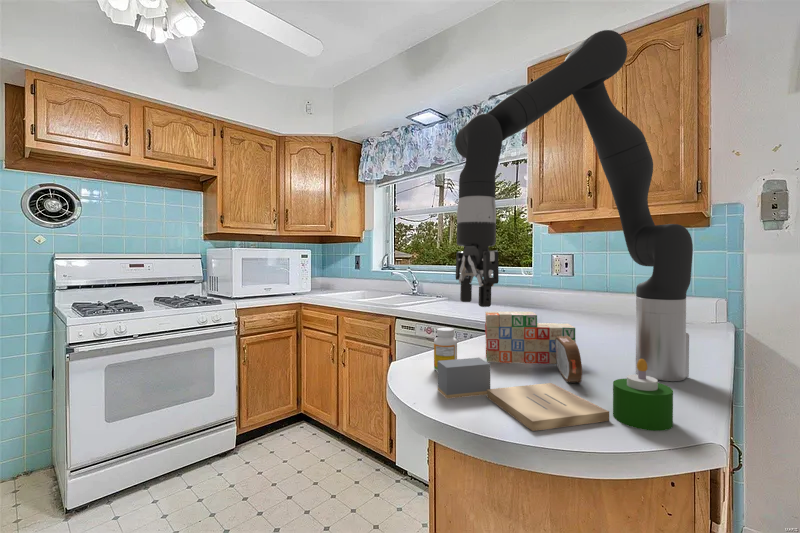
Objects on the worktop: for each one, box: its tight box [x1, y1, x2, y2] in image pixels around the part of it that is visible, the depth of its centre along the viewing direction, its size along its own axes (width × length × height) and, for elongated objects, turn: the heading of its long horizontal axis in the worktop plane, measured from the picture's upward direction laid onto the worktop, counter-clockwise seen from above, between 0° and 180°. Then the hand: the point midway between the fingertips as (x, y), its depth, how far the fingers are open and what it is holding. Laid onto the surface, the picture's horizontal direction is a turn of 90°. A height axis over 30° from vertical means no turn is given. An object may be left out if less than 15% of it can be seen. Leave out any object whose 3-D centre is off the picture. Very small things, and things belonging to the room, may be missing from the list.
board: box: [486, 382, 610, 432], centre depth 69 cm, size 14×15×2 cm
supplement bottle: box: [433, 327, 458, 372], centre depth 92 cm, size 5×5×10 cm
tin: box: [555, 336, 583, 384], centre depth 87 cm, size 15×3×8 cm, turn 168°
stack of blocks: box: [484, 311, 577, 365], centre depth 101 cm, size 21×6×12 cm, turn 81°
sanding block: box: [437, 357, 491, 400], centre depth 77 cm, size 5×9×6 cm, turn 104°
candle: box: [612, 359, 674, 432], centre depth 64 cm, size 8×8×10 cm
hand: (474, 304), depth 78 cm, fingers open, 8 cm apart
